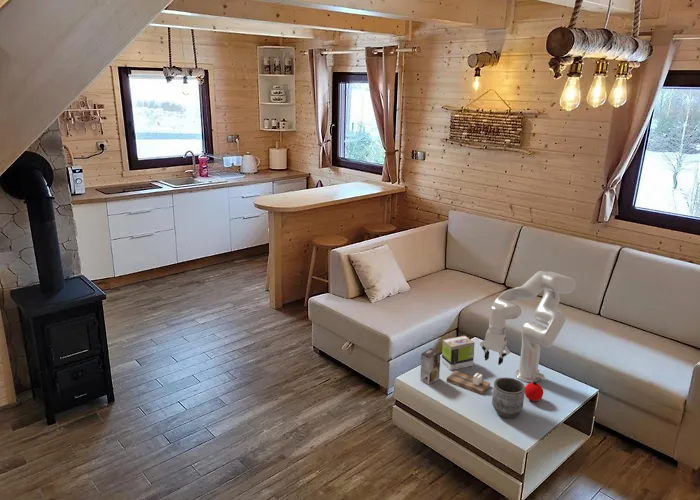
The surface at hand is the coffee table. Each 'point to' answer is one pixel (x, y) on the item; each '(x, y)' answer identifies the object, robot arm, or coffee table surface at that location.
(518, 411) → the planter
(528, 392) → the ornament
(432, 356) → the coffee box
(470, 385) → the fader console
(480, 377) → the fader
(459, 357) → the tea box
